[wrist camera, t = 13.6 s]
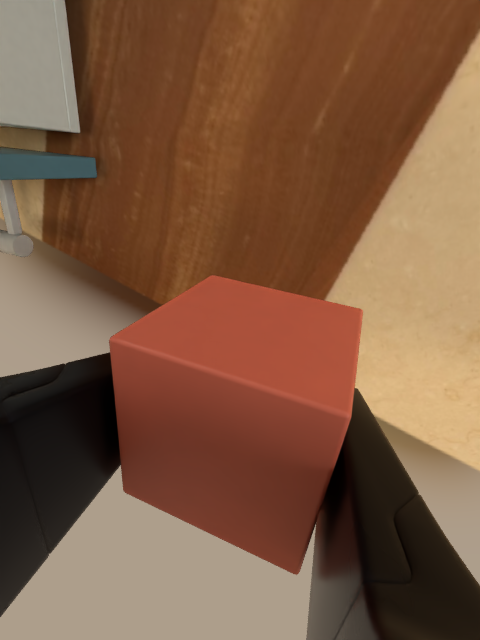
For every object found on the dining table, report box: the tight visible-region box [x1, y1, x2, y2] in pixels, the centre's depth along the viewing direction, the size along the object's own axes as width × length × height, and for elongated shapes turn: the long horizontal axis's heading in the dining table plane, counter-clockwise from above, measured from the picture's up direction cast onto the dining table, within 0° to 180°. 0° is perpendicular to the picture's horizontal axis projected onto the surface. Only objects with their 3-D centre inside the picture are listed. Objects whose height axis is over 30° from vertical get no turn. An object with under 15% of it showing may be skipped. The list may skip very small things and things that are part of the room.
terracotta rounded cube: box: [109, 275, 363, 574], centre depth 8 cm, size 4×4×4 cm
